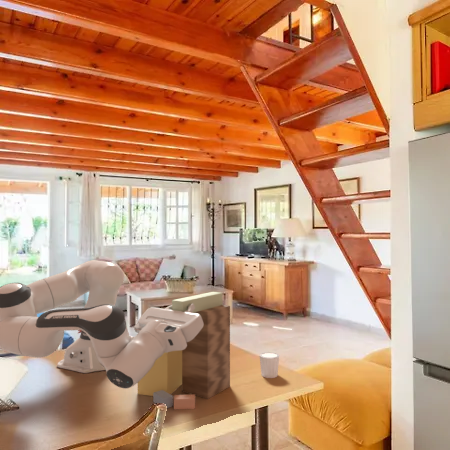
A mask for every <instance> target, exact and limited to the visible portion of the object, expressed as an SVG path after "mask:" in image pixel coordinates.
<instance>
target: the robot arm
mask: <svg viewBox="0 0 450 450" xmlns="http://www.w3.org/2000/svg"><path fill="white" fill-rule="evenodd" d="M124 278H125V274H124V272H123V270H122V268H121V267H120V266H118V265H117V264H116V263H114V262H110V261H103V260H97V259H92V260H91V259H90V260H88V261H85V262H83V263H81V264H78V265H76V266H73V267H71V268H70V269H67V270H65V271H63V272H59V273H57V274H53V275H50V276H48V277H44V278H41V279H39V280H35V281H33V282H31V283H29V284H25V283H22V282H10V283H7V284H3V285H1V286H0V349H1V350H3V351H5V352H8V353H11V354H13V355H18V356H24V357H29V358H37V359H38V358H46V357H49V356H50V355H53V353H54V352H56V351H57V350H58V348H59V347H60V345H61V344H62V342H63V338H64V335H65V332H66V331H77V334H80V335H79V337H78V338H77V339H76V340H75V341H74V342H72V343H71V344H70V345H68V346H67V347H66V348H65V351H64V355H63V359H61V360H60V361H58V362H57V364H56V367H57V368H60V369H65V370H69V371H73V372H79V373H82V374H89V373H92V372H99V371H105V372H106V373H105V374H106V377H107V379H108V380H109V381H110V382H111V383H112V385H114V386H116V387H118V388H122V389H129V388H132V387H134V386H136V385H138V382H139V381H140V380H141V379H142V378H143V377H144V376H145V375H146V374H147V373H148V372H149V370H150V369H151V368H152V367H153V365H154V363H155V361H156V360H157V359H158V358H159V357H161V356H162V355H163V354H164V353H167V352H171V351H179V350H184V349H185V348H186V347H187V343H186V342H189V341H191V340H192V339H194V337H195V336H196V335H197V334H198V333H199V332H200V330H201V329H202V328H203V325H204V323H203V320H202V317H201V315H200V314H195V313H192V311H193V310H194V309H195V306H194V304H189V305H187V306H186V307H187V309H188V311H187V310H186V311H185V312H182V311H175V310H172V304H169V305H168V306H167V307H165V308H162V307H161V308H160V307H155V306H150V307H148V308H147V309H146V310H145V311H144V312H143V313H142V315H141V316H140V317H139V319H138V321H137V323H136V324H135V325H134V326H133V328H134V332H135V333H137V334H136V335H135V336H132V335H130V333H129V330H128V326H127V322H126V315H125V312H124V310H123V309H122V308H121V307H119V306H117V305H116V303H117V297H118V294H119V290H120V288H121V287H122V285H123V283H124V281H125V280H124ZM87 293H88V297H87V301H86V303H85V304H84V307H73V308H72V307H70V308H60V307H61V306H65V305H67V304H70V303H72V302H75V301H76V300H77V299H78V298H80V297H81V296H83V295H86V294H87ZM57 308H58V309H57ZM38 314H41V315H39V316H38Z"/></svg>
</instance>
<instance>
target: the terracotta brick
mask: <svg viewBox="0 0 450 450" xmlns="http://www.w3.org/2000/svg"><path fill="white" fill-rule="evenodd" d="M188 409H189V410H193V409H196V395H195V394H174V395H173V410H188Z"/></svg>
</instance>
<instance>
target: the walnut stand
mask: <svg viewBox="0 0 450 450" xmlns="http://www.w3.org/2000/svg"><path fill="white" fill-rule="evenodd" d="M194 313H195V314H200V315H201V317H202V320H203V323H204V325H203V328H202V329H201V330H200V332H199V333H198V334H197V335H196V336H195V337H194V339H192V340H191V341H189V342H186V343H187V347H186V348H185V349H184V350H182V385H181V386H182V388H181V391H182V392H183V393H186V394H188V395H192V394H195V397H196V396H197V397H200V398H202V399H206V400H208V399H210V398H212V397H214V396H215V395H217V394H219V393H222V391H224V390H226V389H228V388H230V387H231V306H230V305H225V304H223V305H220V306H217V307H213V308H209V309H205V310H201V311H198V312H194Z"/></svg>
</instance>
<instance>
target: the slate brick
mask: <svg viewBox="0 0 450 450" xmlns="http://www.w3.org/2000/svg"><path fill="white" fill-rule="evenodd" d="M152 397H153V401H152V402H153V403H154V404H156V403H164V404H166V406H167V408H166V409H168V408H172V407H174V395H172V394H171V395H170V394H169V393H167V392H165V391H163V390H160V391H157V392H154V393H153V396H152Z"/></svg>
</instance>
